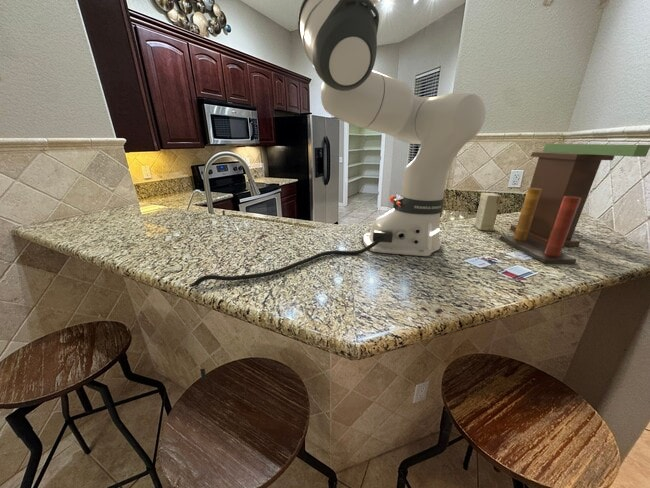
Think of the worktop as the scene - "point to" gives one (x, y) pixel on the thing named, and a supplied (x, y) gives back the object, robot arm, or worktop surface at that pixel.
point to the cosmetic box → (487, 211)
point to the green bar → (599, 149)
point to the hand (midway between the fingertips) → (574, 5)
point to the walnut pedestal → (560, 189)
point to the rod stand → (558, 233)
